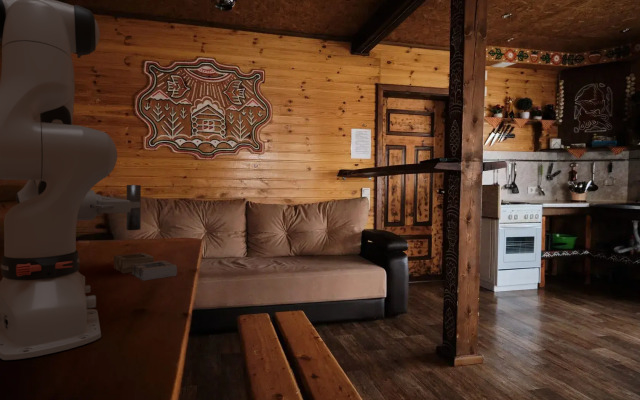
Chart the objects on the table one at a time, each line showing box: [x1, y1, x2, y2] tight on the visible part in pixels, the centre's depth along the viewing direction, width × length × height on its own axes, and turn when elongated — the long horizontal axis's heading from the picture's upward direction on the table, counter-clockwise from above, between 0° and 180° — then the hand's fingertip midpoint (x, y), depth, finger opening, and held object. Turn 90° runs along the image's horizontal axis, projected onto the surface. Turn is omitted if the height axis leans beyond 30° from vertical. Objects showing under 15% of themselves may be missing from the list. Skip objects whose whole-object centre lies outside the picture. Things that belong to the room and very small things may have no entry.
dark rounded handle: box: [126, 184, 142, 231], centre depth 122 cm, size 4×4×14 cm
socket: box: [131, 259, 178, 282], centre depth 115 cm, size 10×10×3 cm
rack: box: [113, 252, 155, 274], centre depth 122 cm, size 9×9×4 cm
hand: (136, 204), depth 122 cm, fingers closed on dark rounded handle, 4 cm apart
